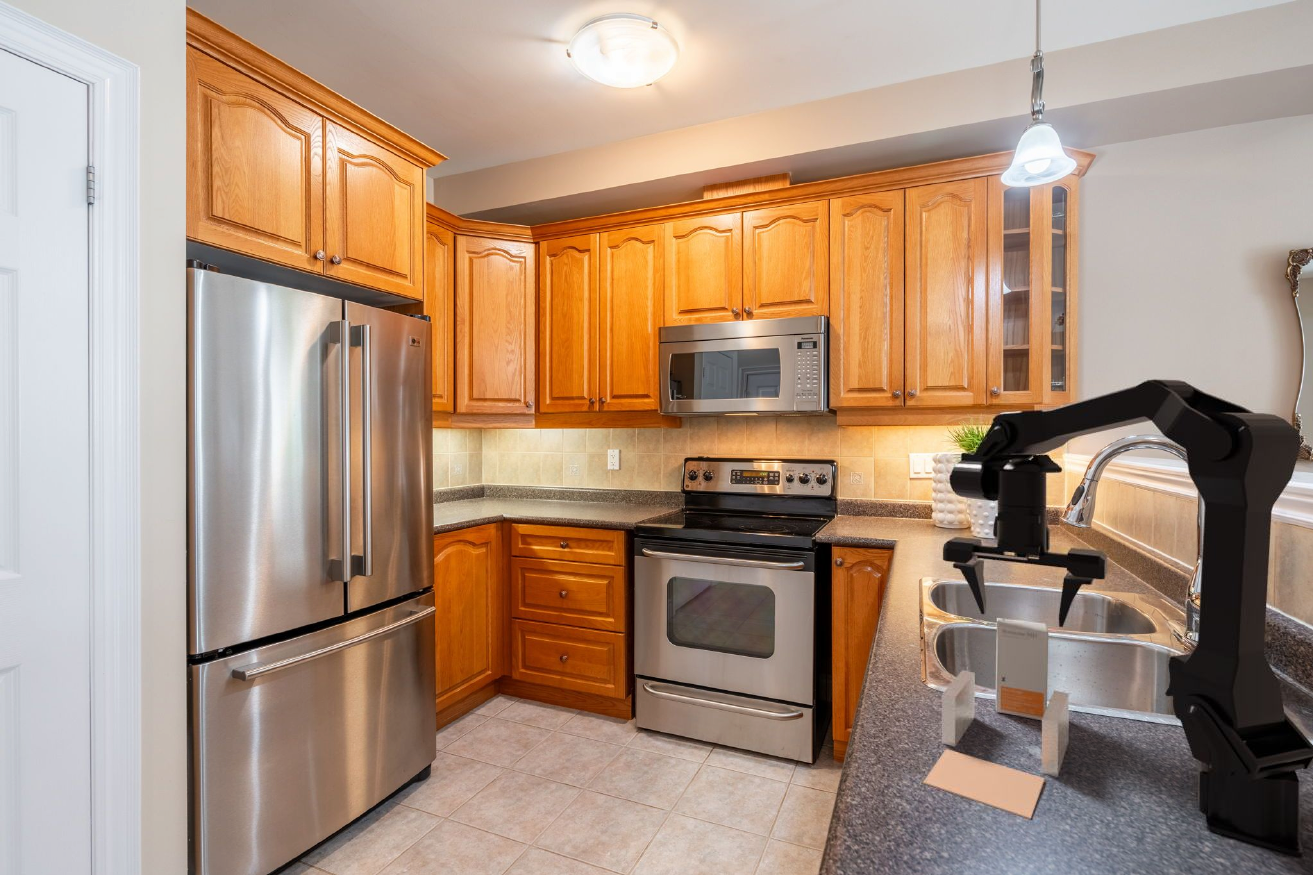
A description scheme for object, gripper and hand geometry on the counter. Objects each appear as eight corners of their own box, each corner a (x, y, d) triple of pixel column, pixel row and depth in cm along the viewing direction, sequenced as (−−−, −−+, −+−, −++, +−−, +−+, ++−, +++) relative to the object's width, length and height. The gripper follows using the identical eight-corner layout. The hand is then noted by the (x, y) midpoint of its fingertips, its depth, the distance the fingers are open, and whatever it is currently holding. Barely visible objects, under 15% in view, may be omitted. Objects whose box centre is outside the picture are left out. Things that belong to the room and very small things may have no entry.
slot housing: (1068, 742, 77) (1068, 693, 77) (1057, 777, 69) (1057, 722, 69) (962, 714, 84) (962, 670, 84) (941, 743, 77) (941, 694, 77)
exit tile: (1044, 781, 68) (1044, 778, 68) (1030, 821, 61) (1030, 817, 61) (946, 752, 74) (946, 748, 74) (923, 785, 67) (923, 781, 67)
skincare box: (995, 713, 85) (996, 624, 85) (995, 701, 89) (995, 616, 88) (1048, 723, 82) (1049, 631, 82) (1045, 710, 86) (1046, 622, 86)
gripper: (1110, 504, 85) (1109, 618, 85) (961, 495, 97) (961, 596, 97) (1104, 512, 77) (1104, 639, 77) (942, 502, 88) (941, 612, 88)
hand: (1021, 619), depth 85 cm, fingers open, 9 cm apart
